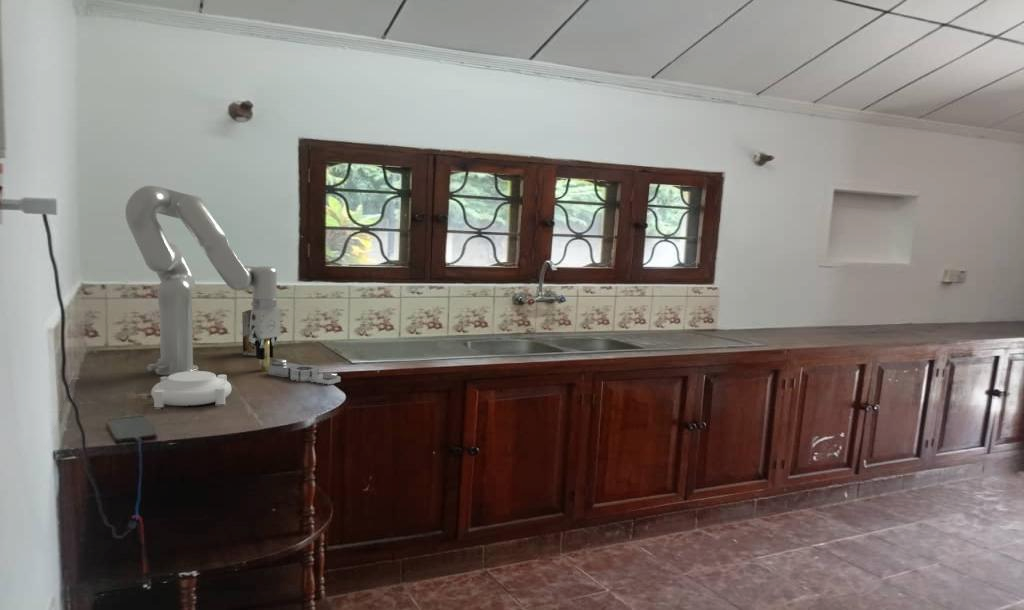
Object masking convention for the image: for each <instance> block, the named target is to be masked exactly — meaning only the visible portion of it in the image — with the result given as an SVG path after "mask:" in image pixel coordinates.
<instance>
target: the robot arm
mask: <svg viewBox="0 0 1024 610" xmlns="http://www.w3.org/2000/svg"><path fill="white" fill-rule="evenodd" d="M157 214H159V215H164V216H166V217H167V216H168V217H172V218H176V219H180V220H181V222H182V224H184V227H185V228H186V229H187V230H188V231H189V232H190V234H191V236H192V237H193V238H194V239H195V241H196V243H198V246H200V248H201V249H202V251H203V252H204V254H205V256H206V257H207V258H208V260H209V262H210V263H211V264H212V266H213V267H214V270H216V272H217V273H218V275H219V276H220V278H222V280H223V281H224V282H225V284H226V285H227V286H228V287H229V288H230V289H232V290H234V291H240V292H241V291H243V290H246V289H247V288H250V287H252V302H251V306H252V308H251V309H250V310H251V316H250V337H249V339H248V341H249V342H251V343H253V344H254V346H255V347H256V356H255V358H256V359H257V360H260V359H261V360H264V359H265V348H263V343H264V339H268V338H270V359H272V358H274V346H275V345H276V344H275V343H276V341H277V339H278V338H280V336H281V332H282V326H281V325H282V324H281V316H280V315H281V314H280V310H279V309H280V308H279V307H278V306H277V304H278V303H277V302H278V301H277V298H278V297H277V290H278V289H277V278H278V277H277V275H278V273H277V270H276V268H275V267H273V266H249V265H243V263H242V262H241V261H240V259H239V258H238V256H237V255H236V253H235V252H234V250H233V249H232V247H231V245H230V242H229V239H228V236H227V234H226V233H225V231H224V230H223V228H222V227H221V226H220V224H218V222H217V220H216V219H215V218H214V217H213V215H212V213H211V212H210V210H209V208H208V206H207V203H206V201H204V199H202V198H201V197H199V196H196V195H191V194H188V193H183V192H180V191H175V190H172V189H168V188H164V187H161V186H154V185H146V186H142V187H140V188H138V189H137V190H136V191H134V192H133V193H132V194H131V196H130V197H129V199H128V200H127V203H126V206H125V218H126V219H125V220H126V222H127V225H128V228H129V230H130V232H131V234H132V236H133V238H134V241H135V243H136V246H137V247H138V250H139V251H140V253H141V256H142V257H143V260H144V263H145V265H146V266H147V267H148V269H149V270H150V271H152V272H154V273H156V274H157V276H158V278H159V280H160V283H159V285H158V287H157V299H158V300H157V301H158V311H159V312H158V313H159V314H158V315H159V340H160V342H159V344H160V347H159V348H160V352H159V353H160V358H158V359H157V362H156V363H150V364H147V365H146V369H147V371H150V372H151V371H154V370H155V373H156V374H157V375H159V376H166V377H168V376H170V375H172V374H175V373H180V372H188V371H199V366H198V365H196V364H194V345H193V344H194V339H193V338H194V337H193V335H194V333H193V331H194V329H193V308H192V306H193V305H192V296H193V295H194V294H195V291H196V282H195V280H194V276H193V275H192V273H191V270H190V269H189V267H188V265H187V262H186V260H185V258H184V256H183V254H182V252H181V250H180V249H179V248H178V247H177V246H176V245H175V244H173V243H171V242H169V241H168V239H167V237H166V235H165V233H164V230H163V228H162V226H161V224H160V223H159V221H158V218H157ZM259 340H260V342H259Z"/></svg>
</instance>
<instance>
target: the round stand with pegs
mask: <svg viewBox="0 0 1024 610" xmlns="http://www.w3.org/2000/svg"><path fill="white" fill-rule="evenodd" d="M227 378H228V376H227V374H217V375H216V374H215V372H211V371H203V370H198V371H188V372H180V373H175V374H172V375H170V376H161V377H160V378H159V379H160V382H157V383H156V384H155V385H154V386H153V387H152V388H151V390H150V391H151V392H150V394H151V397H152V399H153V408H154V407H163V406H164V407H165V405H168V406H174V407H175V406H177V407H178V406H180V407H182V406H185V407H187V406H189V405H190V406H200V405H201V406H202V405H206V404H212V403H215V405H216V404H225V405H226V398H227V397H229V395H230V394H231V393H232V385H231V383H230V382H229V381H228V379H227Z"/></svg>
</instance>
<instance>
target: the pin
mask: <svg viewBox="0 0 1024 610" xmlns="http://www.w3.org/2000/svg"><path fill="white" fill-rule="evenodd" d="M263 348H265V359H264V360H261V359H259V371H260V372H269V365H271V364H270V363H271V362H270V361H271V360H270V359H271V358H270V338H268V339H264V343H263Z"/></svg>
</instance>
